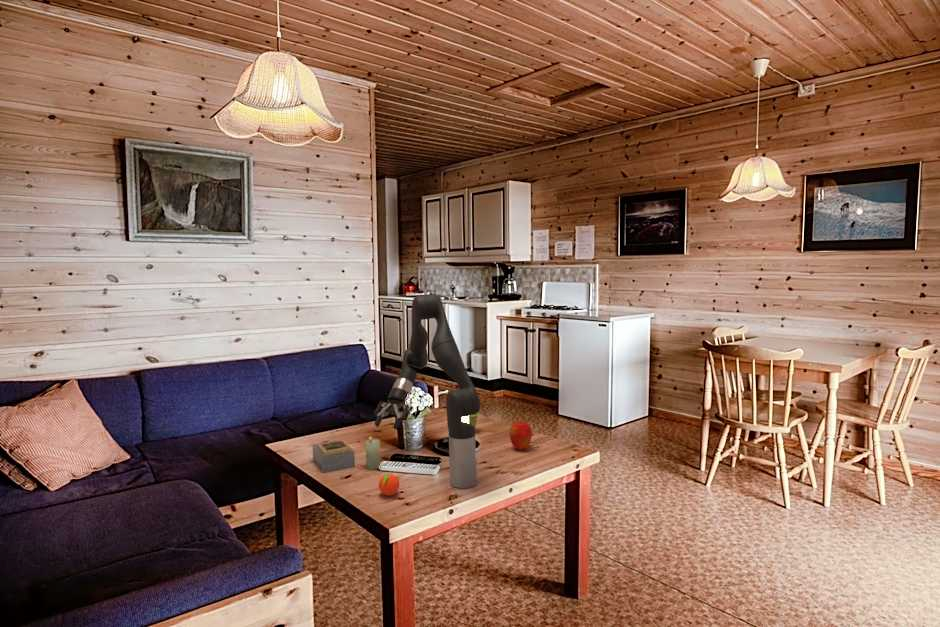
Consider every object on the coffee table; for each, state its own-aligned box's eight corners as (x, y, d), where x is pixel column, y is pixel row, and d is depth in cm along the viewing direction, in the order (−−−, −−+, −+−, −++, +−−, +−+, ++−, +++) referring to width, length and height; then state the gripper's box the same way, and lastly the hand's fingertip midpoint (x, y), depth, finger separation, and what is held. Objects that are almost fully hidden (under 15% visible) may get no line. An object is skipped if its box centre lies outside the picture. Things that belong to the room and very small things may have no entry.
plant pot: (464, 428, 261) (464, 409, 260) (482, 431, 256) (482, 412, 255) (453, 433, 253) (453, 414, 252) (472, 437, 248) (471, 417, 247)
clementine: (393, 501, 186) (392, 480, 185) (374, 499, 187) (373, 478, 187) (402, 491, 193) (402, 471, 192) (384, 489, 195) (383, 469, 194)
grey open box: (354, 466, 216) (354, 447, 216) (323, 472, 211) (322, 453, 210) (342, 453, 230) (342, 435, 230) (313, 459, 225) (312, 440, 224)
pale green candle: (372, 463, 219) (370, 433, 218) (383, 465, 217) (382, 434, 216) (363, 468, 215) (362, 437, 213) (375, 470, 212) (374, 439, 211)
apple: (508, 445, 237) (508, 417, 235) (530, 444, 237) (530, 416, 235) (510, 453, 227) (510, 424, 226) (533, 452, 227) (532, 423, 226)
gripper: (382, 385, 232) (366, 420, 223) (412, 388, 225) (396, 424, 216) (390, 394, 237) (374, 429, 228) (419, 398, 231) (404, 434, 222)
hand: (385, 427), depth 222 cm, fingers open, 8 cm apart
